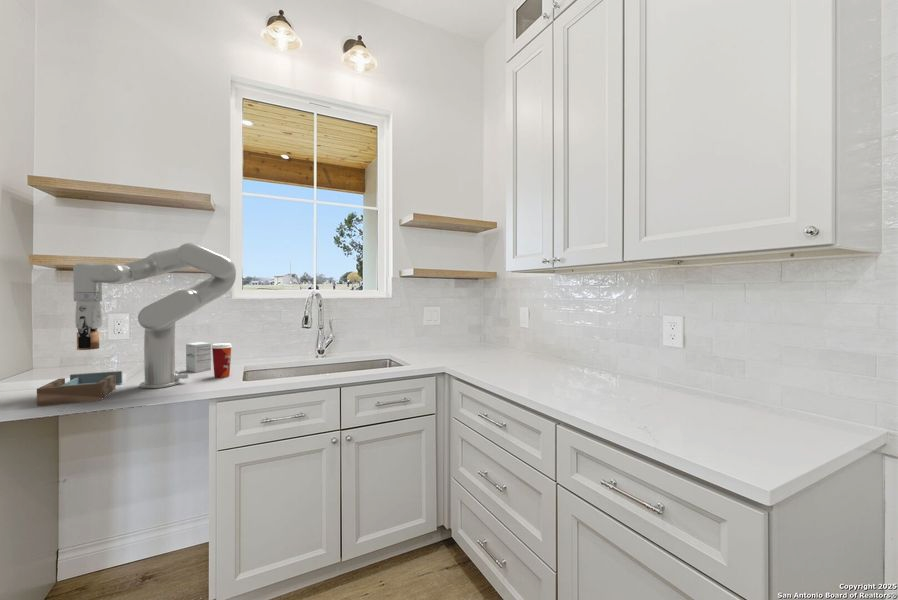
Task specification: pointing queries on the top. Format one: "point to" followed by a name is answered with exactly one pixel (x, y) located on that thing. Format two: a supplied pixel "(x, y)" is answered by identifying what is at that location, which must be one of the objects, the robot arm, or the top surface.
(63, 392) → the brown wooden open box
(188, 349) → the supplement box
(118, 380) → the tray
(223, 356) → the paper cup
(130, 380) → the top surface
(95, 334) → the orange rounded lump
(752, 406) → the top surface
